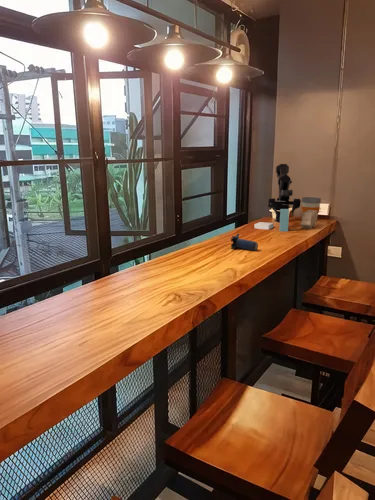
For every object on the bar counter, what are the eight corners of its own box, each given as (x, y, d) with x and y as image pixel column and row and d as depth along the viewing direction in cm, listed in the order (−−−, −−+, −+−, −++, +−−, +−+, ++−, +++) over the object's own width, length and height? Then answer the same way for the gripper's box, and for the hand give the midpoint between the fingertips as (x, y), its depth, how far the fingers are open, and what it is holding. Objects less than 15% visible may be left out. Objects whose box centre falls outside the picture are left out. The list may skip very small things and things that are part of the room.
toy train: (300, 229, 238) (301, 212, 236) (307, 224, 253) (308, 209, 250) (309, 230, 236) (310, 213, 233) (316, 225, 250) (317, 210, 248)
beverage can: (230, 252, 188) (253, 256, 183) (229, 237, 185) (254, 241, 180) (237, 245, 195) (260, 248, 190) (237, 230, 192) (261, 234, 187)
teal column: (279, 229, 236) (280, 209, 233) (287, 230, 235) (288, 209, 233) (279, 231, 232) (280, 210, 229) (287, 231, 231) (289, 210, 228)
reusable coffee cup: (317, 218, 277) (319, 197, 273) (320, 221, 265) (322, 199, 261) (299, 218, 279) (300, 197, 275) (301, 221, 267) (302, 198, 263)
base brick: (259, 226, 249) (259, 222, 248) (273, 228, 244) (273, 223, 244) (254, 229, 241) (254, 224, 241) (268, 230, 237) (268, 225, 236)
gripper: (269, 184, 236) (268, 205, 228) (301, 185, 233) (302, 205, 225) (268, 196, 246) (267, 216, 238) (299, 197, 243) (299, 217, 234)
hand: (284, 214), depth 233 cm, fingers open, 9 cm apart
